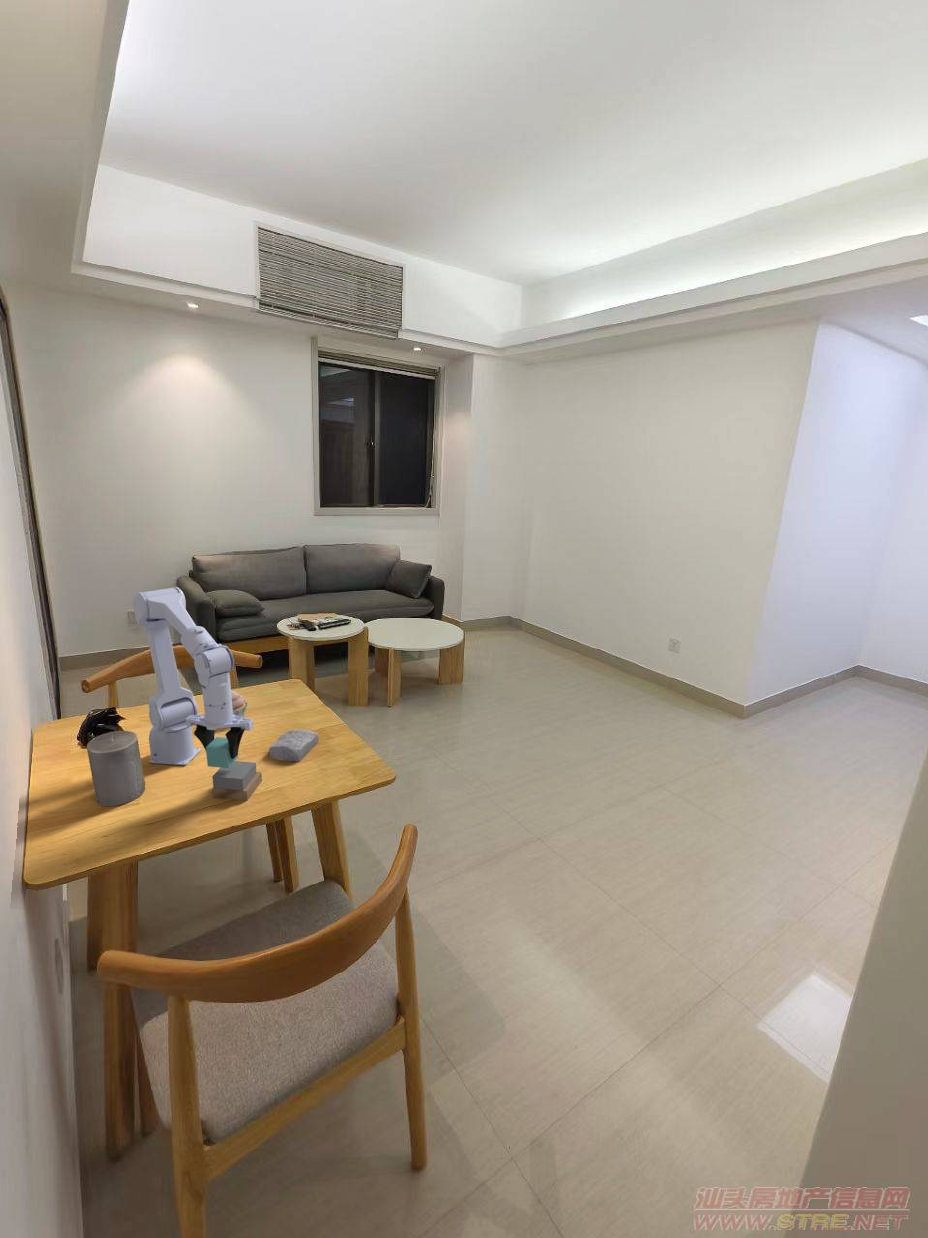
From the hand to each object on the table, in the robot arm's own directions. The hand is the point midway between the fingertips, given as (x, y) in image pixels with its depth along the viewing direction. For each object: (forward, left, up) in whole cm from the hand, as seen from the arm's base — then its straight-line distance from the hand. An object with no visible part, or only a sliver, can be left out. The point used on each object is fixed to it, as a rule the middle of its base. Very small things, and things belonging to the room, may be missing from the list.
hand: (222, 755), depth 127 cm
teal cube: (0, 0, -2) cm, 2 cm away
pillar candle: (-23, -4, -10) cm, 25 cm away
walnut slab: (+2, +1, -10) cm, 10 cm away
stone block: (+8, +21, -10) cm, 25 cm away
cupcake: (-15, +34, -10) cm, 39 cm away
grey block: (+2, +1, -7) cm, 7 cm away
